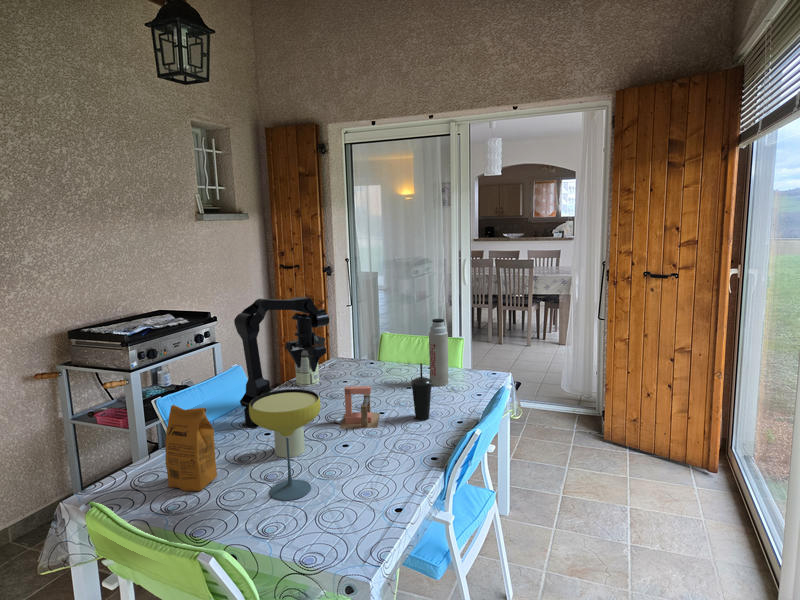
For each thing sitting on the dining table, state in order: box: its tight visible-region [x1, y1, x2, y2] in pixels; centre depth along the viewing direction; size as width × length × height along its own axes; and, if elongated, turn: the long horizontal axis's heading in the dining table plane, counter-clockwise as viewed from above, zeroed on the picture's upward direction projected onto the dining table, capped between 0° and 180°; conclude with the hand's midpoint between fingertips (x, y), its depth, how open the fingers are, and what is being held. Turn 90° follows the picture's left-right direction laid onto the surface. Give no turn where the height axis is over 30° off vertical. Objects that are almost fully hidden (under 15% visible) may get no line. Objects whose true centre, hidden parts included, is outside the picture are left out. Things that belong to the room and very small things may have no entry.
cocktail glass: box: [249, 388, 321, 502], centre depth 139 cm, size 18×18×25 cm
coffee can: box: [294, 350, 321, 387], centre depth 233 cm, size 10×10×14 cm
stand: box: [338, 394, 381, 430], centre depth 186 cm, size 13×14×8 cm
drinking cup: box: [410, 363, 433, 421], centre depth 188 cm, size 8×8×20 cm
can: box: [273, 426, 306, 459], centre depth 164 cm, size 9×9×12 cm
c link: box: [344, 385, 373, 423], centre depth 186 cm, size 9×5×12 cm, turn 88°
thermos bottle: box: [428, 318, 449, 387], centre depth 226 cm, size 8×8×28 cm
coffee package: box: [165, 404, 218, 492], centre depth 145 cm, size 10×12×22 cm
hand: (306, 369), depth 204 cm, fingers open, 9 cm apart
